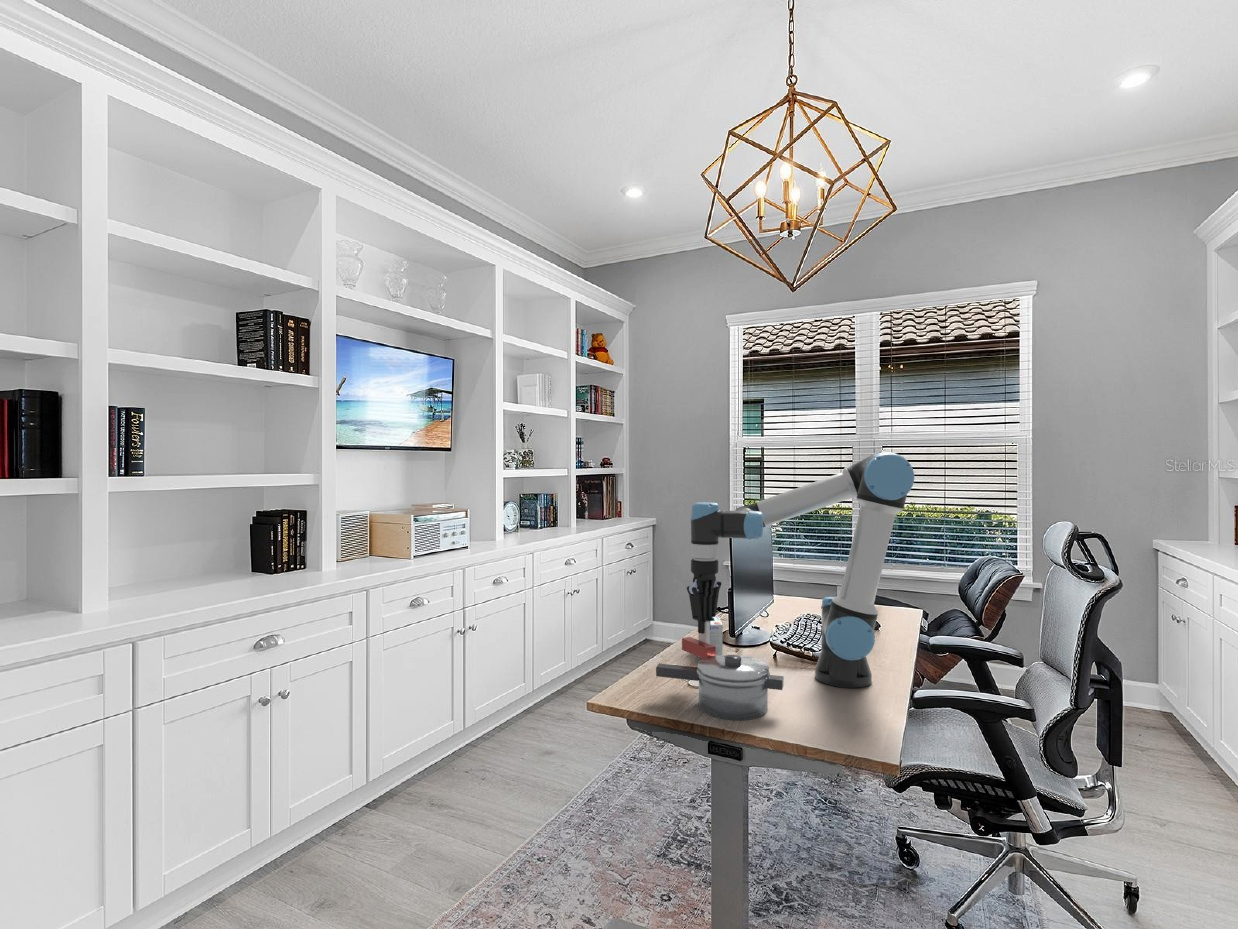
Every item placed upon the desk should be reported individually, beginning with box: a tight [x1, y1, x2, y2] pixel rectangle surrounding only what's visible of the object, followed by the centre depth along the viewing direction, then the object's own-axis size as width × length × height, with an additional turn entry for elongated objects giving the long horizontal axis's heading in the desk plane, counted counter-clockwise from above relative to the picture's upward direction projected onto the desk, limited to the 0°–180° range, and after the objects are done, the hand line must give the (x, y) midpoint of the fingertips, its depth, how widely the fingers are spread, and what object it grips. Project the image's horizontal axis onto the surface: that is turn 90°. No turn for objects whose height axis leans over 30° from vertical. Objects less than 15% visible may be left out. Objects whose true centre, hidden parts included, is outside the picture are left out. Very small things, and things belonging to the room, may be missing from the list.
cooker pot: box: [655, 663, 785, 721], centre depth 169 cm, size 32×18×9 cm, turn 71°
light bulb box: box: [701, 616, 724, 659], centre depth 213 cm, size 11×7×11 cm, turn 178°
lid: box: [681, 636, 770, 682], centre depth 172 cm, size 28×18×4 cm, turn 31°
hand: (704, 644), depth 184 cm, fingers closed
